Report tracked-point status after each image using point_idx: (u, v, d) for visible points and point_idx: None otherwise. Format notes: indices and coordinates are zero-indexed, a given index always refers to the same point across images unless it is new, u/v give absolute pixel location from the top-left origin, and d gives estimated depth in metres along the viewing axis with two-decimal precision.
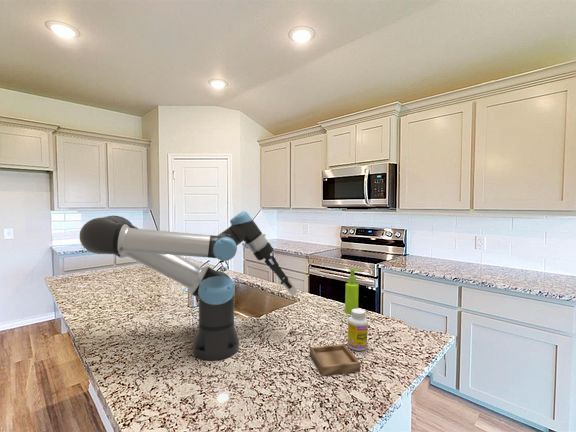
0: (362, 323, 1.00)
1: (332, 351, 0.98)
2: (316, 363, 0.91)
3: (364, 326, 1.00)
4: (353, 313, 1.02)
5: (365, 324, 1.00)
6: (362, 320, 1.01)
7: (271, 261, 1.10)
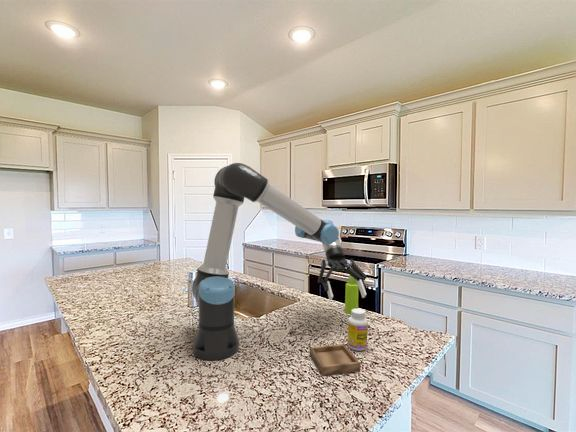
0: (362, 323, 1.00)
1: (332, 351, 0.98)
2: (316, 363, 0.91)
3: (364, 326, 1.00)
4: (353, 313, 1.02)
5: (365, 324, 1.00)
6: (362, 320, 1.01)
7: None
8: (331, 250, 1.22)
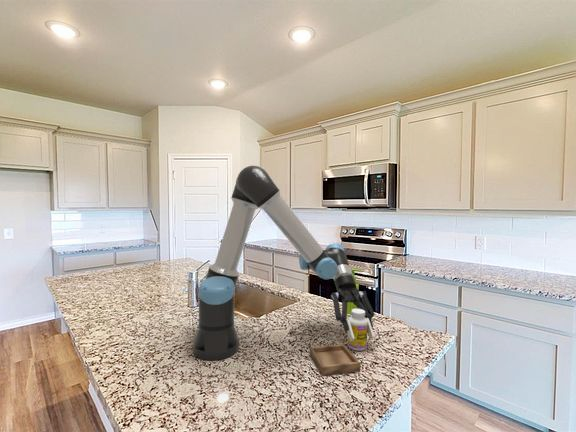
0: (362, 323, 1.00)
1: (332, 351, 0.98)
2: (316, 363, 0.91)
3: (364, 326, 1.00)
4: (353, 313, 1.02)
5: (365, 324, 1.00)
6: (362, 320, 1.01)
7: None
8: (341, 278, 1.11)
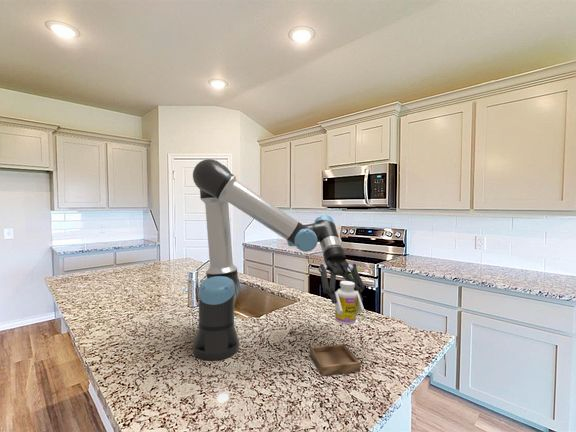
0: (351, 295, 0.93)
1: (332, 351, 0.98)
2: (316, 363, 0.91)
3: (353, 298, 0.93)
4: (342, 285, 0.95)
5: (354, 296, 0.94)
6: (351, 292, 0.94)
7: None
8: (330, 250, 1.04)
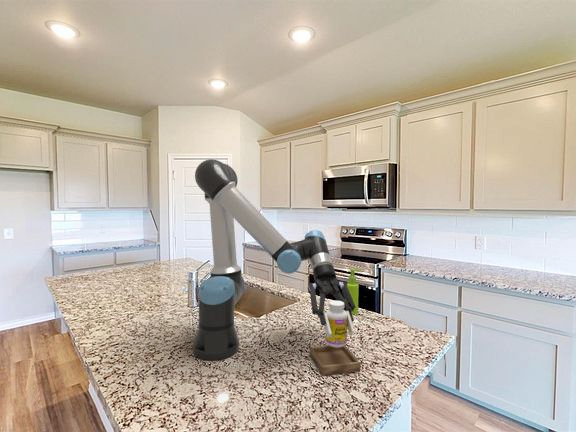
0: (340, 316, 0.89)
1: (332, 351, 0.98)
2: (316, 363, 0.91)
3: (343, 319, 0.89)
4: (331, 305, 0.91)
5: (344, 317, 0.90)
6: (340, 313, 0.90)
7: None
8: (319, 268, 1.00)
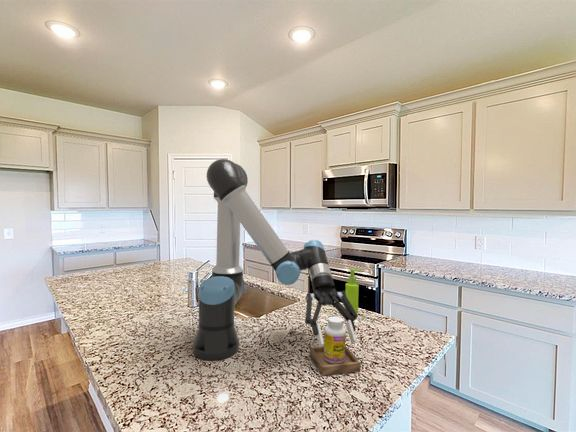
0: (339, 333, 0.90)
1: None
2: (316, 363, 0.91)
3: (341, 336, 0.90)
4: (329, 322, 0.91)
5: (342, 334, 0.90)
6: (339, 330, 0.90)
7: None
8: (318, 279, 1.01)
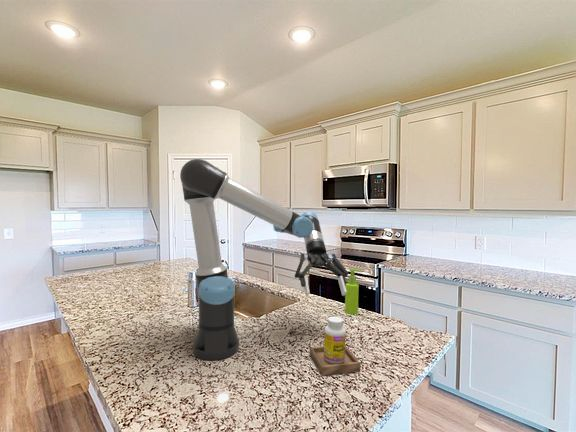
0: (339, 333, 0.90)
1: None
2: (316, 363, 0.91)
3: (341, 336, 0.90)
4: (329, 322, 0.91)
5: (342, 334, 0.90)
6: (339, 330, 0.90)
7: None
8: (311, 243, 1.13)
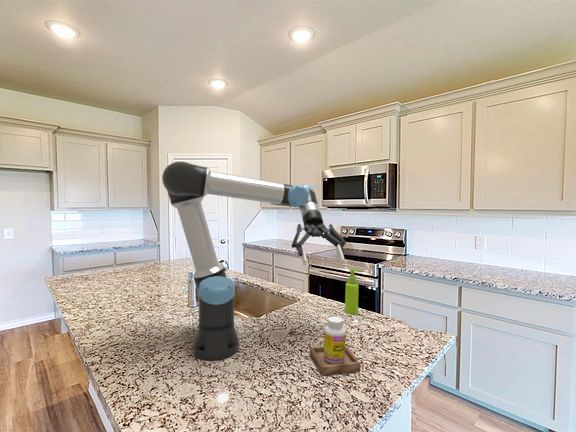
0: (339, 333, 0.89)
1: None
2: (316, 363, 0.91)
3: (341, 336, 0.90)
4: (329, 322, 0.91)
5: (342, 334, 0.90)
6: (339, 330, 0.90)
7: None
8: (308, 214, 1.12)
